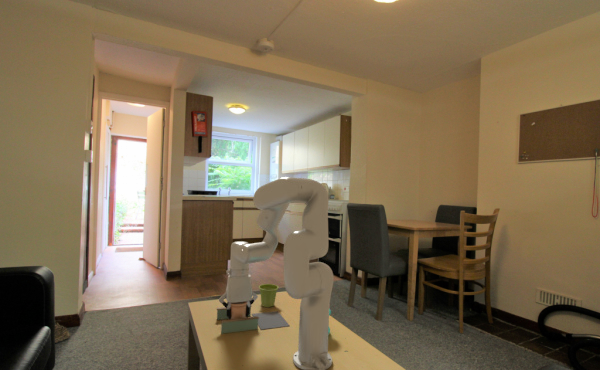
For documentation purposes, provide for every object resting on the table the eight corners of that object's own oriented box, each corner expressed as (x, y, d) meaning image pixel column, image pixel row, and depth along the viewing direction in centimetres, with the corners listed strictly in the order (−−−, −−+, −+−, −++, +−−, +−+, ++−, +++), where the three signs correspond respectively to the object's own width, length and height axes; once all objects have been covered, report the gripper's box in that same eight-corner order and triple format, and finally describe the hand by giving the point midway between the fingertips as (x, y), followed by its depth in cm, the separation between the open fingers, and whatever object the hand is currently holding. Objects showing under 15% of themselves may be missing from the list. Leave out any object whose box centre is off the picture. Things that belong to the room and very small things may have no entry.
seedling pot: (248, 321, 124) (249, 303, 124) (230, 323, 121) (231, 305, 122) (244, 315, 131) (245, 298, 131) (227, 317, 128) (228, 299, 128)
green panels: (258, 329, 122) (258, 317, 122) (221, 333, 117) (221, 321, 117) (250, 315, 136) (250, 304, 136) (216, 318, 130) (216, 307, 130)
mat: (289, 326, 126) (289, 325, 126) (260, 329, 122) (260, 329, 122) (277, 311, 141) (277, 311, 141) (251, 314, 137) (251, 313, 137)
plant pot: (279, 302, 153) (279, 284, 153) (275, 309, 144) (276, 290, 144) (260, 300, 154) (261, 283, 154) (256, 307, 145) (256, 289, 145)
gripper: (218, 276, 120) (217, 323, 119) (262, 273, 126) (261, 318, 126) (216, 271, 127) (214, 316, 126) (257, 269, 133) (256, 311, 133)
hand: (238, 316), depth 126 cm, fingers closed on seedling pot, 6 cm apart
